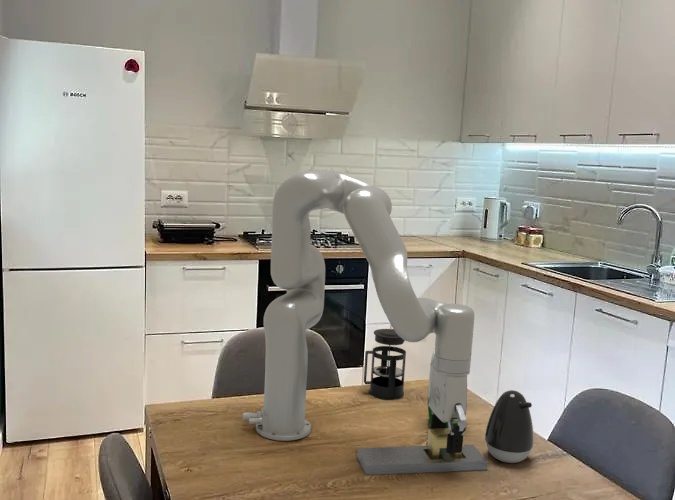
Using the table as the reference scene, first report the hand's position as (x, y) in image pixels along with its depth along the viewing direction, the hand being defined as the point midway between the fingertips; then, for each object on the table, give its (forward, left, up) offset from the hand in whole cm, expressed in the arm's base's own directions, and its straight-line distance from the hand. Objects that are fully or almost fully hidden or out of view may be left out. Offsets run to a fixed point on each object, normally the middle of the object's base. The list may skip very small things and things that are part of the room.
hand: (445, 442), depth 142 cm
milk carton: (+7, +19, -5) cm, 21 cm away
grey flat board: (-5, 0, -5) cm, 7 cm away
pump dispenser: (+15, +1, -5) cm, 16 cm away
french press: (-2, +41, -5) cm, 41 cm away
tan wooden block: (0, 0, -5) cm, 5 cm away
